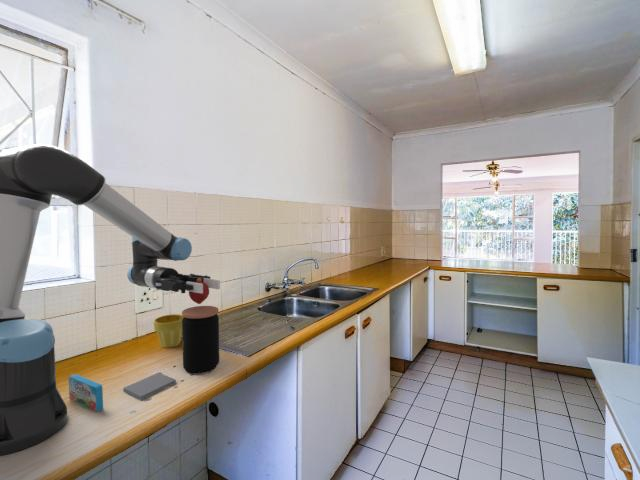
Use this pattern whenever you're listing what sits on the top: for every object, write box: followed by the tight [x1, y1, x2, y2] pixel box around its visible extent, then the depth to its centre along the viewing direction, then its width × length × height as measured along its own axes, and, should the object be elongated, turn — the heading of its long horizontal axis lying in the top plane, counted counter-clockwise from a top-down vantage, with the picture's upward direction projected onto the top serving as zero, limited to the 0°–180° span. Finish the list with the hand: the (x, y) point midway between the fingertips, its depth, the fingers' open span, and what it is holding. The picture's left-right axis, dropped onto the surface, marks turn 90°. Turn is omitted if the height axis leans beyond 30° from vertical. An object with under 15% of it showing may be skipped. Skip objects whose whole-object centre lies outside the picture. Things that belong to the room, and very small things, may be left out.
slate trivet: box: [123, 372, 177, 401], centre depth 88 cm, size 10×8×1 cm
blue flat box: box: [68, 373, 104, 413], centre depth 80 cm, size 12×2×6 cm, turn 63°
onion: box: [188, 278, 210, 305], centre depth 99 cm, size 6×6×8 cm
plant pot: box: [153, 313, 184, 349], centre depth 118 cm, size 10×10×10 cm
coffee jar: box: [181, 305, 220, 375], centre depth 100 cm, size 11×11×18 cm
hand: (210, 286), depth 96 cm, fingers closed on onion, 6 cm apart
